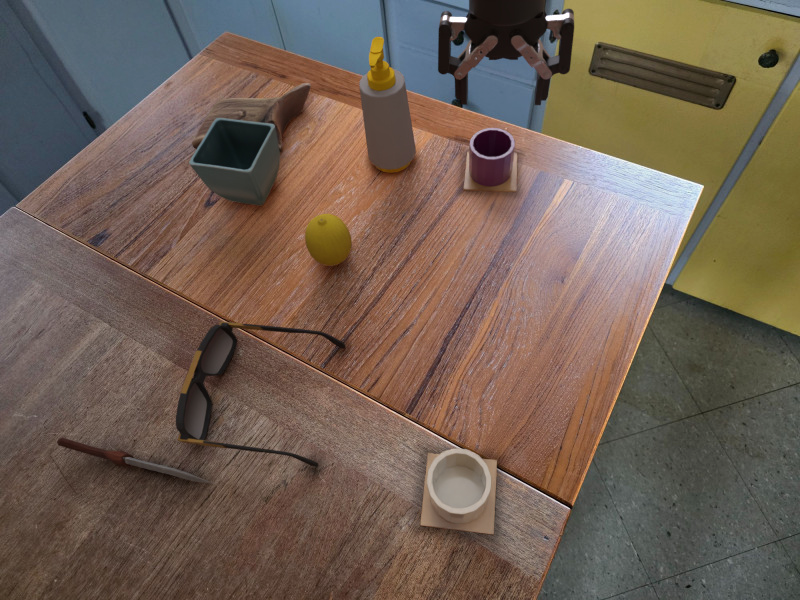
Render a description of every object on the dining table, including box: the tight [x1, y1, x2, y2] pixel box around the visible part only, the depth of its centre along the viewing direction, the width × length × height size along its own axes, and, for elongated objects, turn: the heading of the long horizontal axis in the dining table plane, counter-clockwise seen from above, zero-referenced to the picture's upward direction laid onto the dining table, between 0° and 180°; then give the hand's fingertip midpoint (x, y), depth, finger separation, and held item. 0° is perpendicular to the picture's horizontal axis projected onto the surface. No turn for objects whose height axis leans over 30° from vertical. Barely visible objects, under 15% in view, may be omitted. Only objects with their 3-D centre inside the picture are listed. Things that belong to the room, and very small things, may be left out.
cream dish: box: [427, 447, 492, 524], centre depth 52 cm, size 6×6×5 cm
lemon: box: [304, 213, 353, 267], centre depth 67 cm, size 6×6×8 cm
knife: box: [56, 437, 216, 485], centre depth 58 cm, size 18×2×3 cm, turn 76°
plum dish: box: [468, 127, 516, 187], centre depth 74 cm, size 6×6×5 cm
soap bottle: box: [358, 36, 417, 174], centre depth 71 cm, size 7×7×18 cm
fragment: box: [191, 82, 312, 154], centre depth 84 cm, size 13×16×5 cm
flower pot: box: [188, 118, 281, 206], centre depth 75 cm, size 9×9×9 cm
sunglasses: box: [175, 321, 346, 468], centre depth 60 cm, size 14×15×5 cm
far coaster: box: [463, 151, 518, 193], centre depth 76 cm, size 7×7×1 cm
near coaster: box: [419, 452, 498, 536], centre depth 54 cm, size 7×7×1 cm
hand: (500, 100), depth 65 cm, fingers open, 8 cm apart
